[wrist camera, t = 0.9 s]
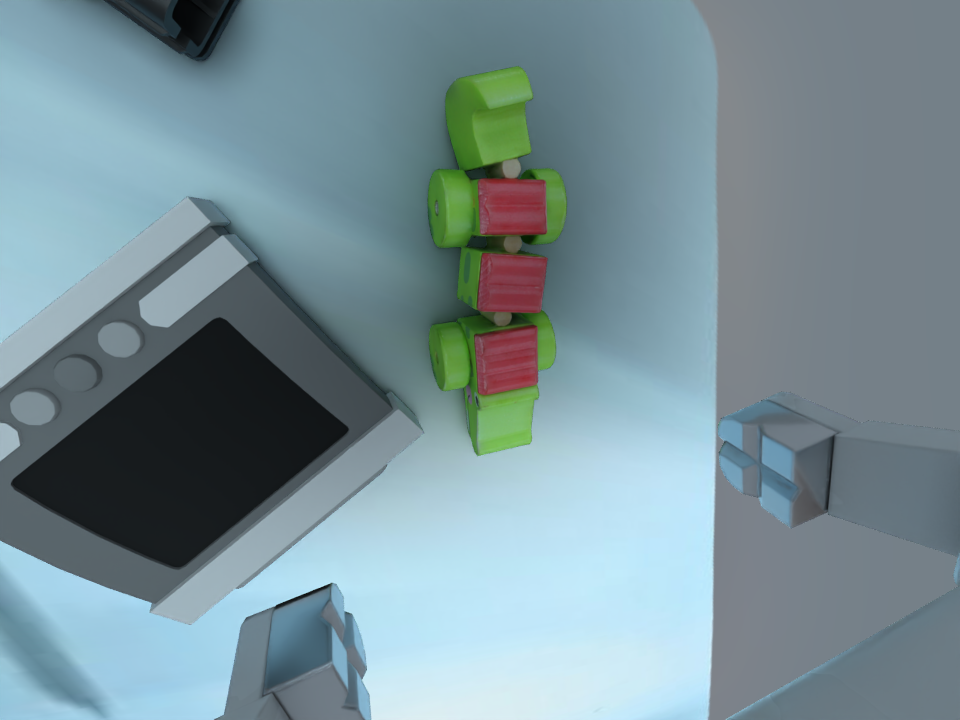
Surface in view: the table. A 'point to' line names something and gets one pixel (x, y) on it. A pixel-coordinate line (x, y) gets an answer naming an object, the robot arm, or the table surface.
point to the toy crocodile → (495, 258)
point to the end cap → (181, 22)
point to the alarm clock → (181, 421)
